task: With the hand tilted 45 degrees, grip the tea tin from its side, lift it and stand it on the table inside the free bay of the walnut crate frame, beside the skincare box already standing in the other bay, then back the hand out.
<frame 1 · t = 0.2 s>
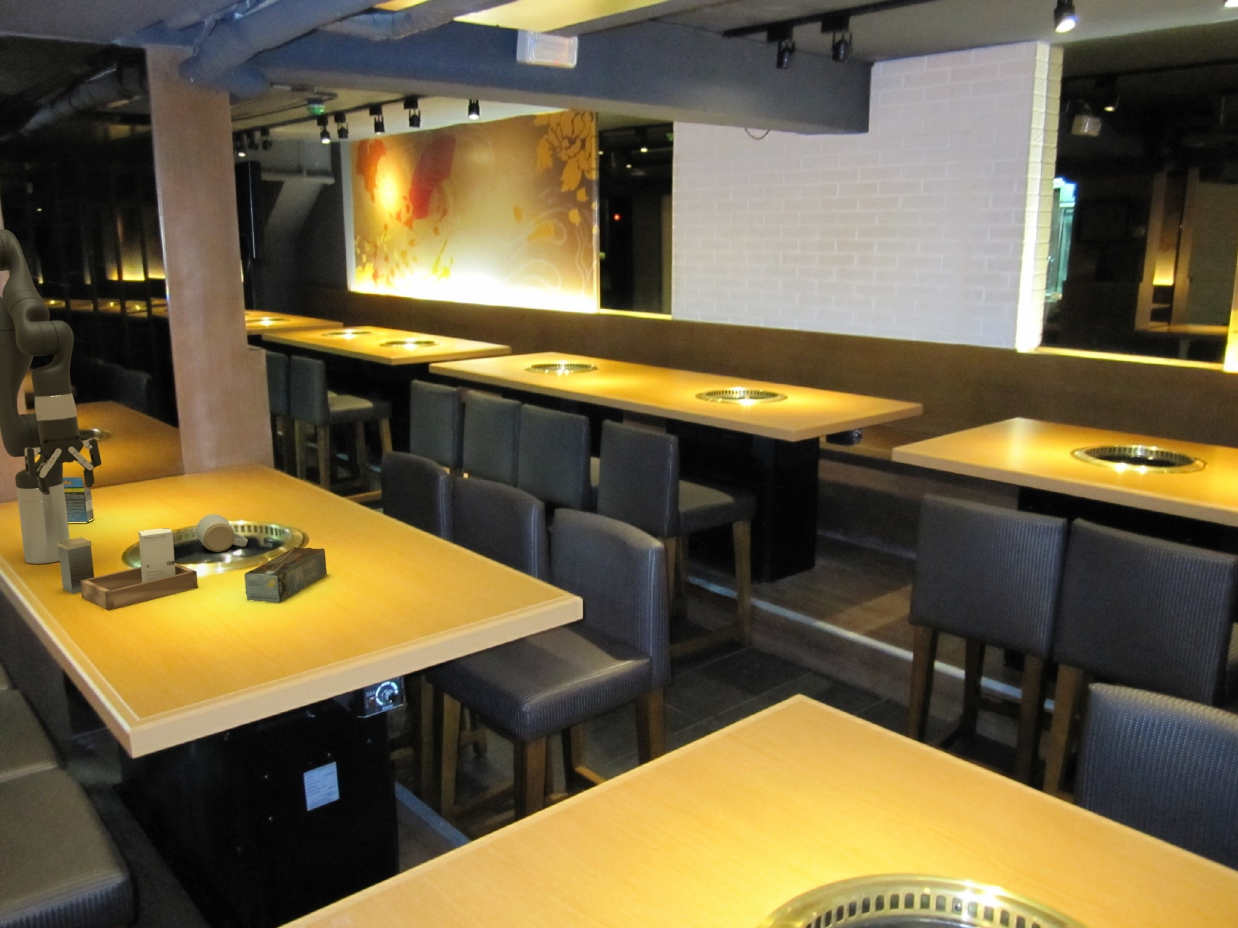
hand: (67, 490, 215), 18 cm above the table, tool pointing down, fingers open, 8 cm apart
beverage carton: (288, 589, 207), on the table
tea tin: (79, 588, 206), on the table
crate: (140, 592, 204), on the table
label tape cartridge: (74, 523, 259), on the table
skincare box: (160, 588, 207), resting in crate
ceramic mug: (223, 548, 236), on the table
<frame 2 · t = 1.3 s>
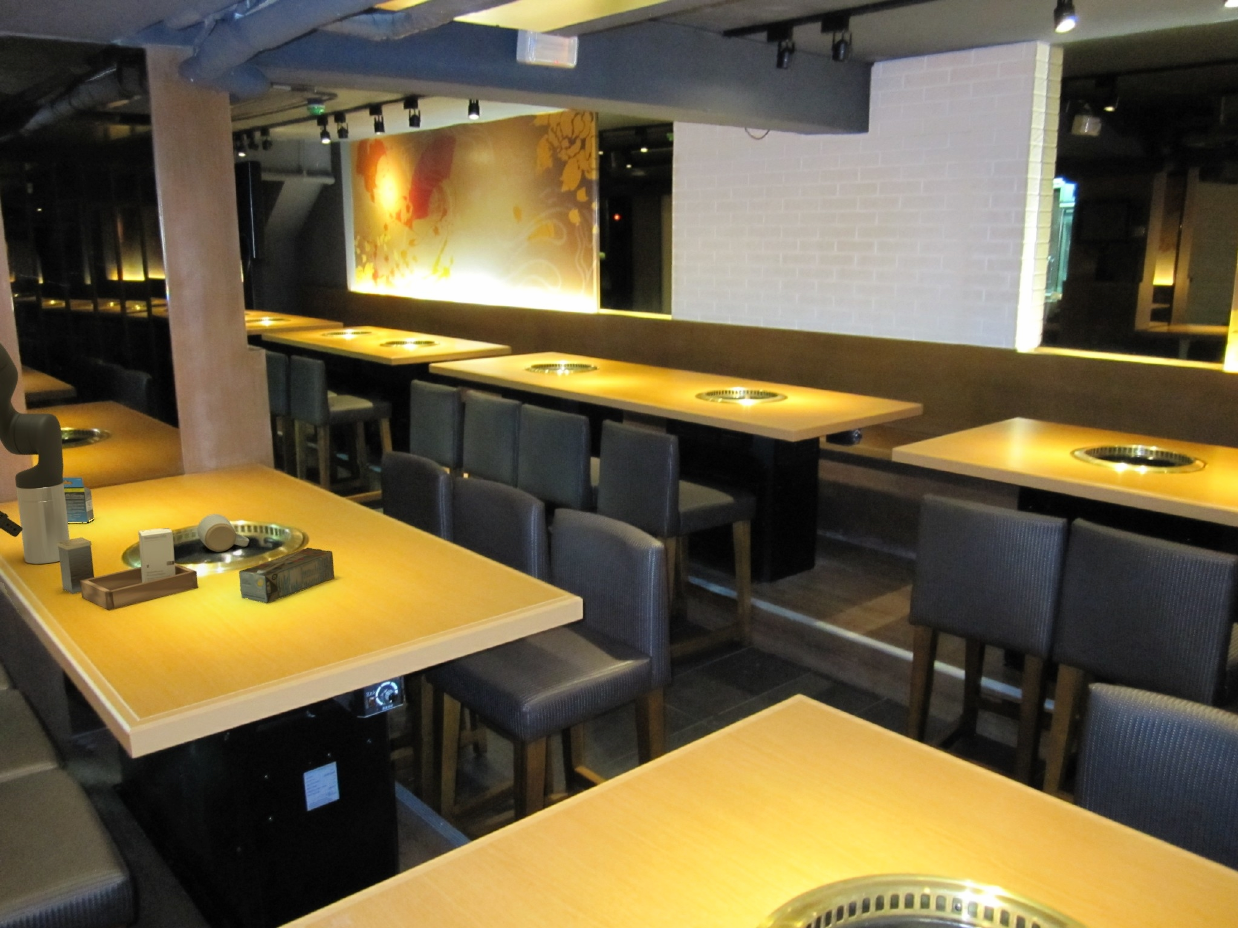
hand: (10, 529, 194), 15 cm above the table, tool tilted 45°, fingers open, 8 cm apart
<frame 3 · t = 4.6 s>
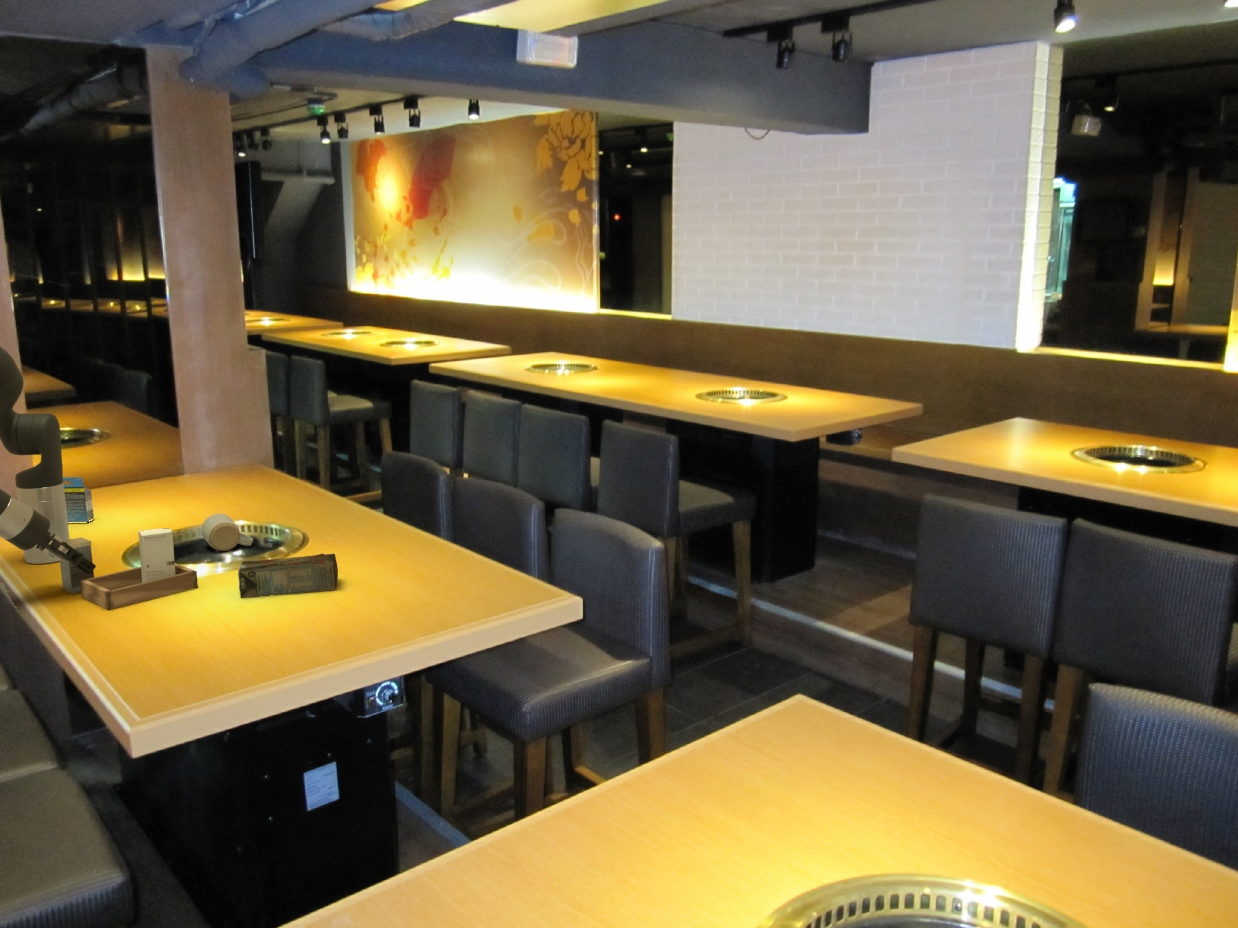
hand: (86, 567, 206), 4 cm above the table, tool tilted 45°, fingers closed on tea tin, 4 cm apart
tea tin: (79, 588, 206), on the table, touching gripper
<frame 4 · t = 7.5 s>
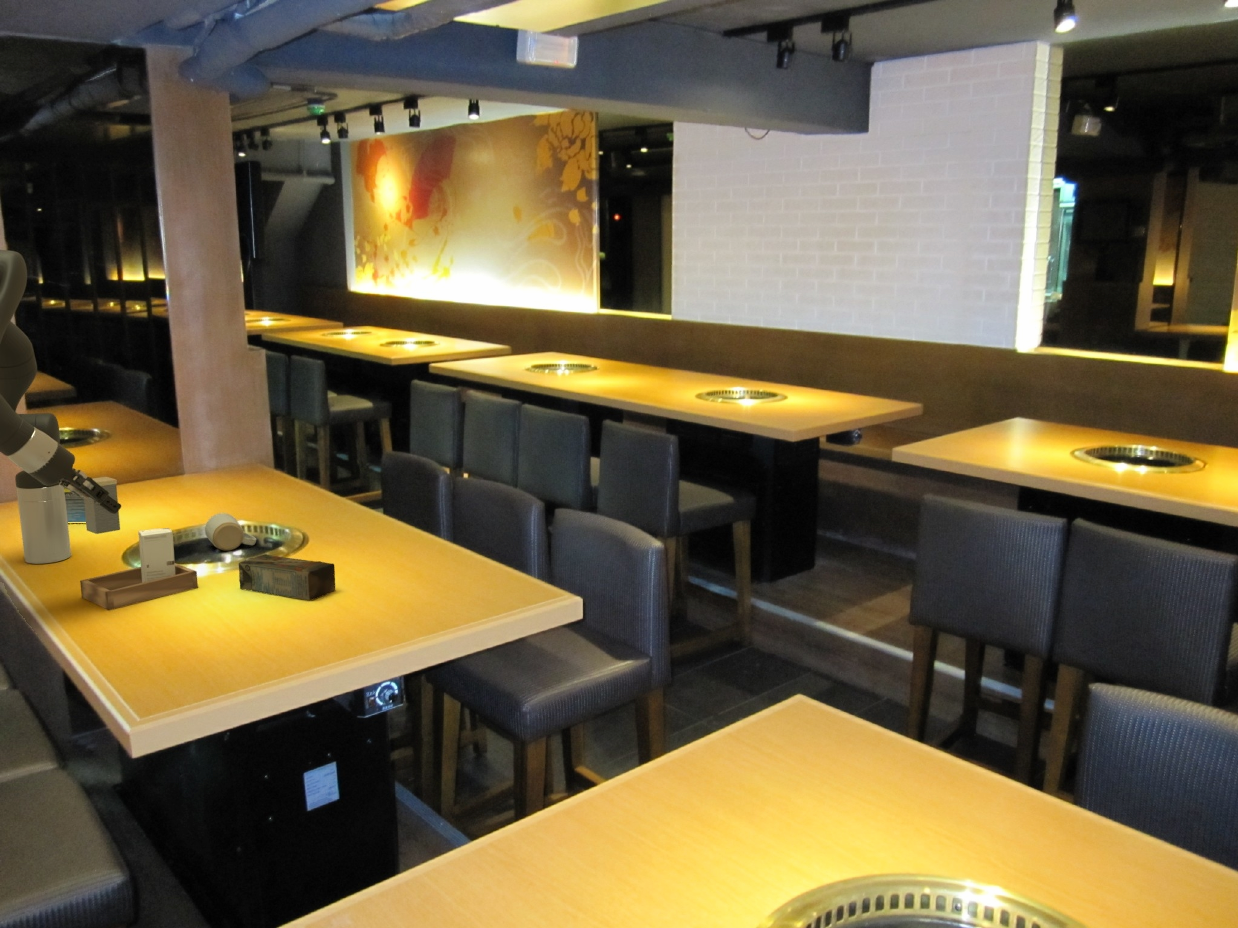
hand: (111, 507, 198), 18 cm above the table, tool tilted 45°, fingers closed on tea tin, 4 cm apart
tea tin: (103, 530, 197), point 14 cm above the table, touching gripper
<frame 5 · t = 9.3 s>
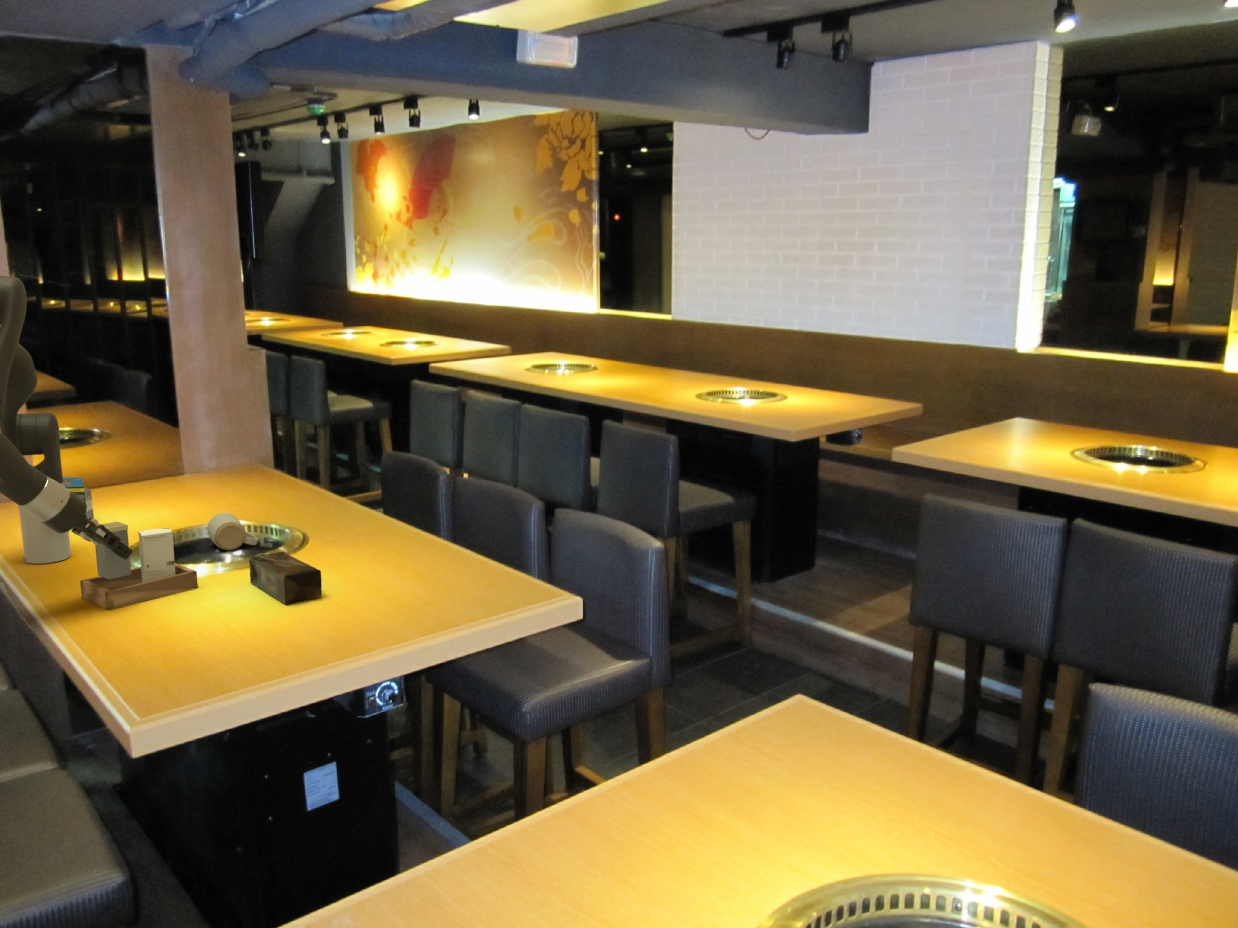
hand: (122, 552, 200), 9 cm above the table, tool tilted 45°, fingers closed on tea tin, 4 cm apart
tea tin: (114, 574, 199), point 5 cm above the table, touching gripper
when the fingers open (5 cm above the table, at t = 10.5 s): tea tin stays where it is, resting in crate.
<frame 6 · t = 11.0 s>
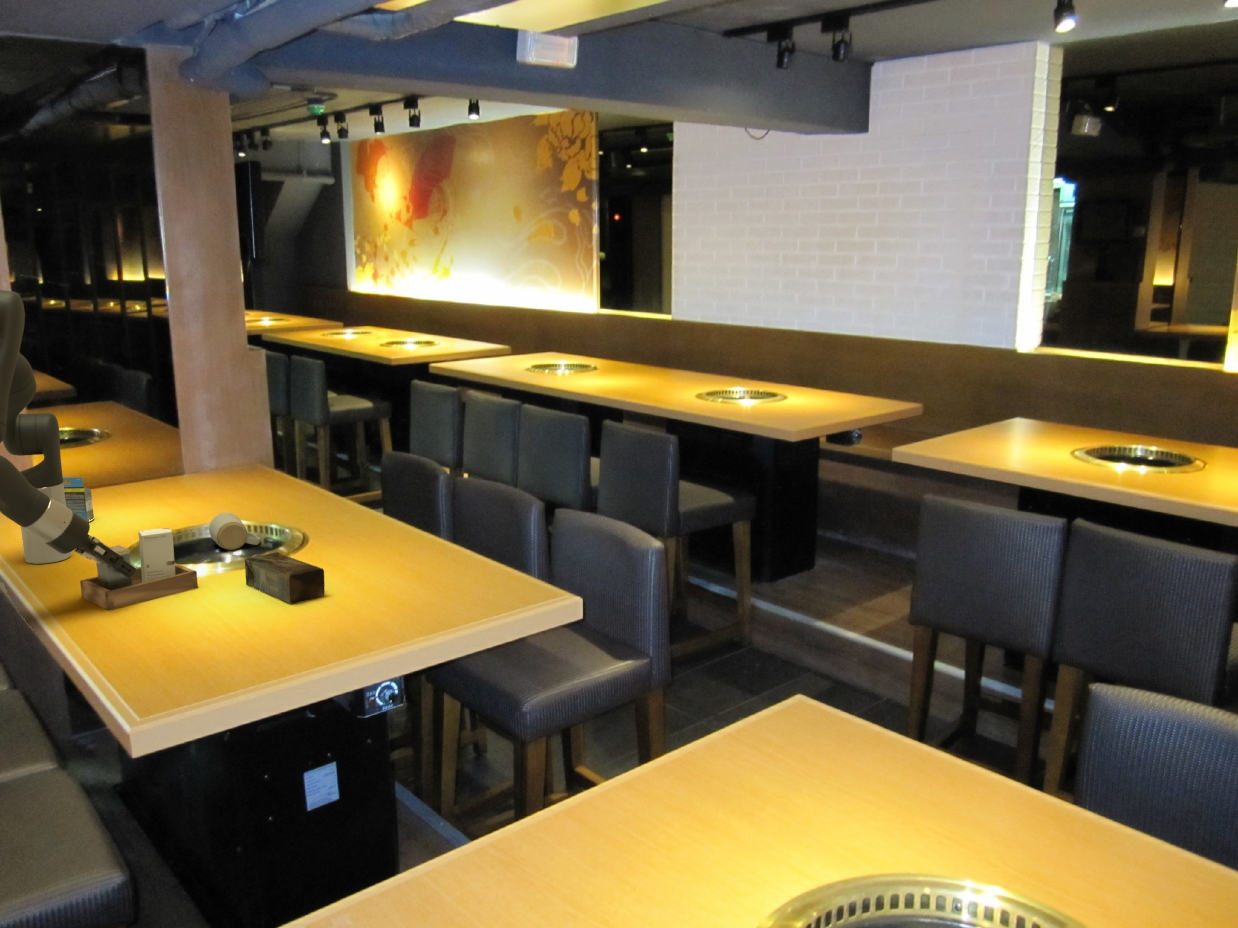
hand: (122, 569, 200), 6 cm above the table, tool tilted 45°, fingers open, 8 cm apart
tea tin: (116, 598, 200), resting in crate
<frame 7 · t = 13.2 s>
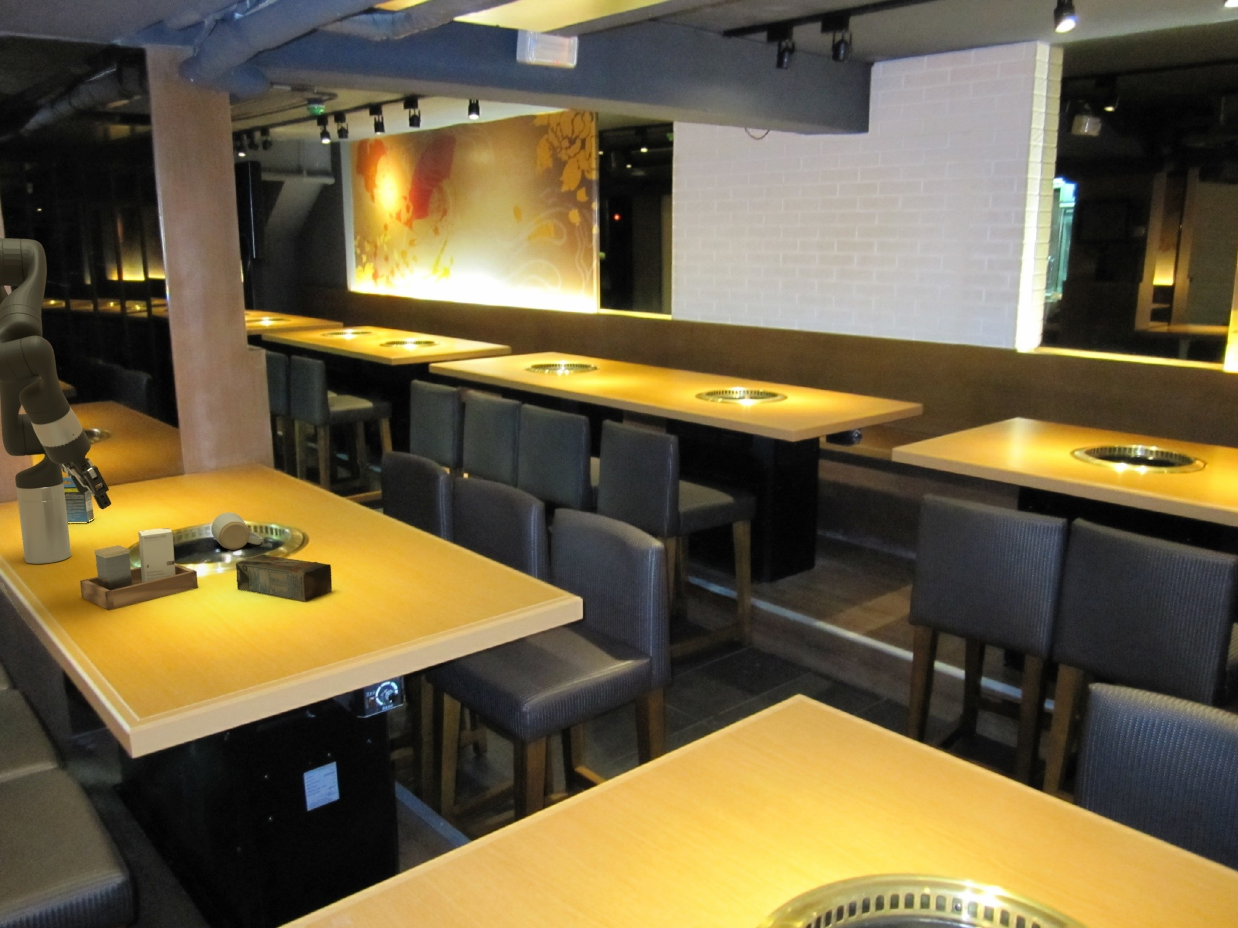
hand: (95, 498, 198), 20 cm above the table, tool tilted 25°, fingers open, 8 cm apart
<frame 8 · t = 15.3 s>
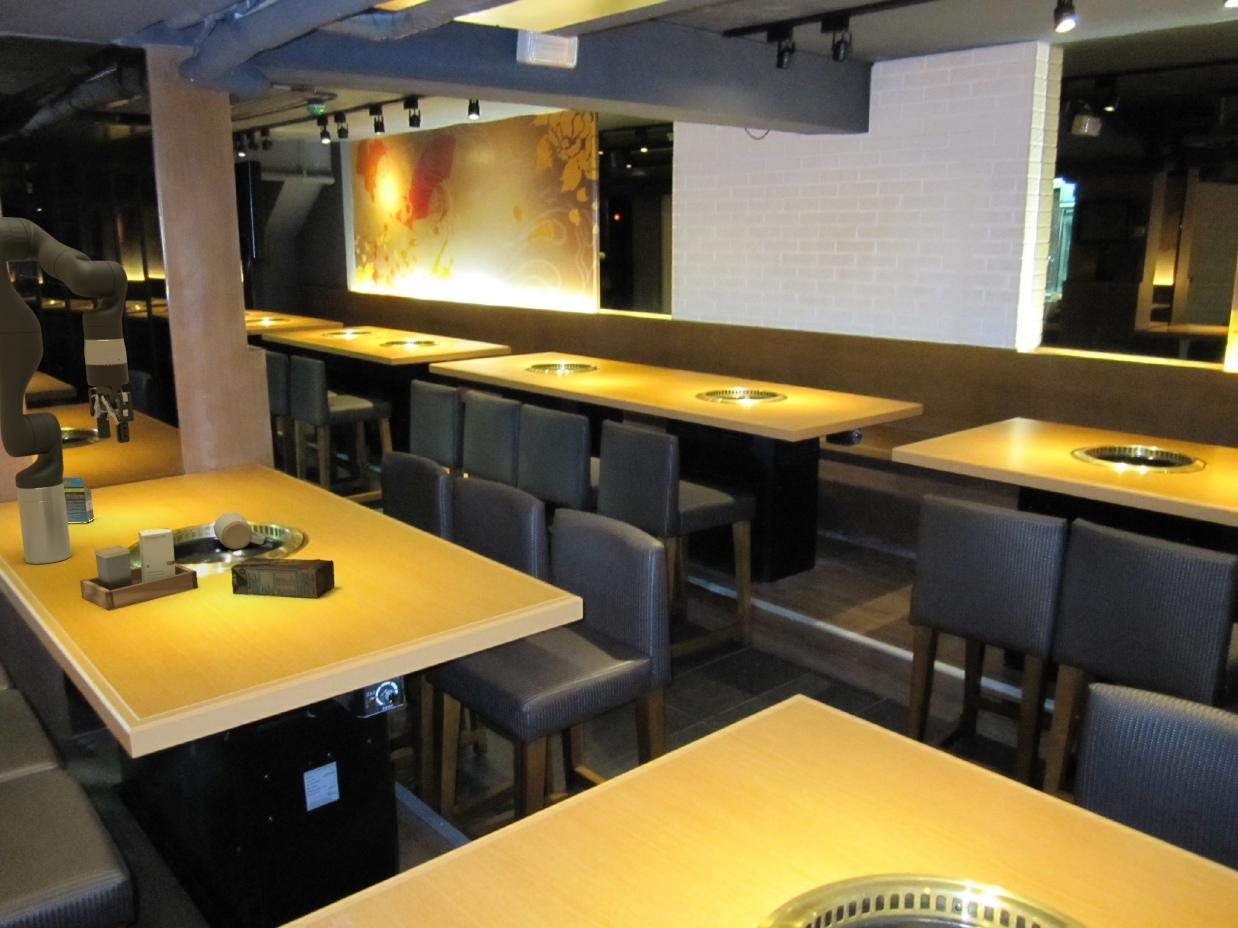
hand: (114, 440, 205), 30 cm above the table, tool pointing down, fingers open, 8 cm apart
at the end: tea tin inside the target area on the crate (1.1 cm from its centre), point 0.0 cm above the crate's base; tea tin tilted 0°; skincare box tilted 0° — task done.
